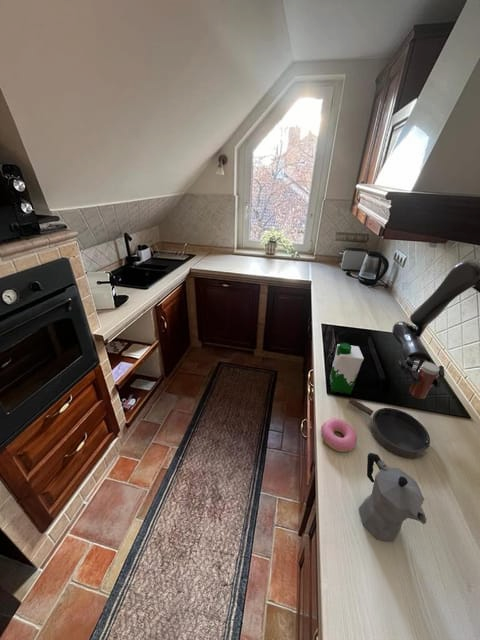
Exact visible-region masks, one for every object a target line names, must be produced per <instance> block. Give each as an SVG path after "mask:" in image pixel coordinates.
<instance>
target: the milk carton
mask: <svg viewBox="0 0 480 640" xmlns="http://www.w3.org/2000/svg"><path fill="white" fill-rule="evenodd" d="M334 354H335V355H334V359H333V361H332V365H331V370H330V374H329V377H328V381H329V380H330V381H329V385H331V386H330V390H331V393H336V392H339V393H338V394H344V393H346V394H345V395H352V392H353V389H354V387H355V384H356V381H357V378H358V375H359V372H360V370H361V366H362V363H363V361H365V360H364V359H365V358H364V356H363V353H362V351H361V348H360V346H359V345H351V344H350V343H347V342H341V343H337V345H336V349H335V353H334Z"/></svg>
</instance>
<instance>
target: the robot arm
mask: <svg viewBox="0 0 480 640" xmlns="http://www.w3.org/2000/svg"><path fill="white" fill-rule="evenodd" d="M471 288H472V289H474V290H475V291H476V292H477V293H479V294H480V259H473V258H472V259H469V260H464V261H461V262H459V263H457V264H456V265H454V266H453V267H452V268H451V270H450V271H449V273H448V274H447V275H446V276H445V278H444V279H443V280H442V282H441V283H440V285H438V287H437V288H436V290H435V291H433V293H432V294H430V296H429V297H428V298H427V299H426V300H425V301H424V302H422V304H420V305H419V306H418V307H417V308H416V309H415V310H414V311H413V312H412V313H411V314H410V316H409V321H410V322H411V323H412V324H410V323H408V322H406V321H397V322H396V323H394V325H392V329H391V330H392V335H393V337H394V338H395V339H396V341H397V342H398V343H399V344H400V346H401V349H402V354H403V357H404V358H403V357H399V358H398V361H397V365H398V367H399V368H400V370H401V371H402V373H403V374H405V375H407V374H408V375H409V376H410V378H411V380H412V382H413V381H414V383H418V381H419V376H418V374H417V372H418V370H419V368H420V366H421V365H422V364H423V363H424V362H430V363H432V360H431V357H430V356H431V355H429V351H428V350H427V348H426V347H425V345H424V343H423V342H422V340H421V337H422V336H423V333H424V332H425V330H426V328H427V327H428V326H429V325H430V324H431V323H433V322H434V320H435V319H437V318H438V317H439V316H440V315H441V314H442V313H443V311H445V310H446V308H447V307H448V306H449V305H450V303H451V302H452V301H453V300H455V299H456V298H457V297H459V296H460V295H462V294H463V293H464V292H466V291H468V290H469V289H471ZM438 367H439V369H440V370H439V374H438V376H437V378H436V380H435V382H434V384H433V387H434V388H436V389H438V388H439V387H441V385H442V381H443V379H444V377H445V376H446V374H445V368H444V366H443V365H439V366H438Z"/></svg>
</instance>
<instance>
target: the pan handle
mask: <svg viewBox="0 0 480 640" xmlns="http://www.w3.org/2000/svg"><path fill="white" fill-rule="evenodd" d="M347 404H350V405H351V406H352V407H354V408H356V409H358V410H359V411H361V412H363V414H364V413H365V414H366V415H367V416H369V417H372V416H373V414H374V410H373V409H371V408H370V407H368V406H366V405H365V404H363V403H362V402H359V401H358V400H357V399H354V398H353V397H351V398H349V400H348V402H347Z"/></svg>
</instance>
